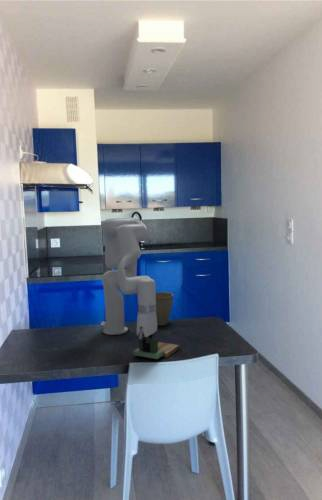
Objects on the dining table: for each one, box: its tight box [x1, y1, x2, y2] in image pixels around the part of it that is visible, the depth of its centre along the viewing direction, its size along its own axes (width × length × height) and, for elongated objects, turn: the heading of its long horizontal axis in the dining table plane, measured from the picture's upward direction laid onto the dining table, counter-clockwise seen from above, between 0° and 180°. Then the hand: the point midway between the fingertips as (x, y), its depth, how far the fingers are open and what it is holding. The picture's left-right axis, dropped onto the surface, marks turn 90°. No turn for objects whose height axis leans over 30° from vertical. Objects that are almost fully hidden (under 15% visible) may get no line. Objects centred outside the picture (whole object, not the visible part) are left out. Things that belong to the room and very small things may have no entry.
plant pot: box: [155, 291, 174, 326], centre depth 242 cm, size 15×15×16 cm
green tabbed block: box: [132, 337, 164, 360], centre depth 193 cm, size 12×9×8 cm
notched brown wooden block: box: [158, 341, 180, 358], centre depth 200 cm, size 14×12×2 cm
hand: (148, 350), depth 192 cm, fingers closed on green tabbed block, 2 cm apart
